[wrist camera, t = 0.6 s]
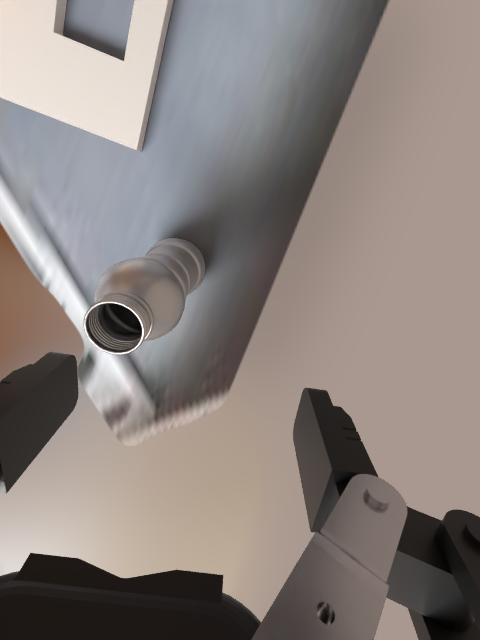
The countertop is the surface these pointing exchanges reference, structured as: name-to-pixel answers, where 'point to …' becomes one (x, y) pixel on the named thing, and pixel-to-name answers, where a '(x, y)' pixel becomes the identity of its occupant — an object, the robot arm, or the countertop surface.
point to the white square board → (82, 68)
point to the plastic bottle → (143, 296)
